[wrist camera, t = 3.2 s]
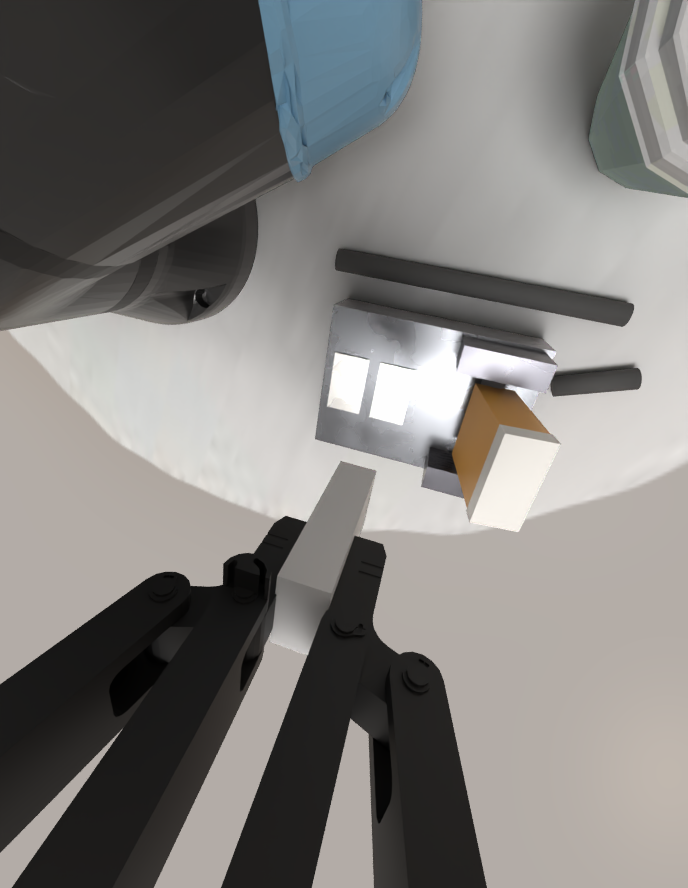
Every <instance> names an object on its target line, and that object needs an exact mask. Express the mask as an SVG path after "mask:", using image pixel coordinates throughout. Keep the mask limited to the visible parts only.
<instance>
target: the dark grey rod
mask: <svg viewBox="0 0 688 888" xmlns="http://www.w3.org/2000/svg"><path fill="white" fill-rule="evenodd" d="M335 269H336V270H337V271H342V272H348V273H353V274H358V275H363V276H368V277H373V278H378V279H383V280H388V281H393V282H398V283H403V284H408V285H413V286H419V287H424V288H429V289H434V290H439V291H444V292H449V293H454V294H459V295H464V296H469V297H474V298H479V299H484V300H490V301H495V302H500V303H505V304H510V305H515V306H520V307H525V308H530V309H535V310H540V311H545V312H550V313H555V314H561V315H566V316H571V317H576V318H581V319H586V320H591V321H596V322H601V323H606V324H611V325H616V326H621V327H623V326H625V325H626V324H627V323H628V321H629V320H630V318H631V316H632V314H633V310H634V305H633V304H632V303H626V302H621V301H616V300H610V299H605V298H600V297H594V296H589V295H584V294H579V293H573V292H568V291H563V290H557V289H552V288H547V287H541V286H536V285H531V284H525V283H520V282H515V281H510V280H504V279H499V278H494V277H488V276H483V275H478V274H472V273H467V272H462V271H456V270H451V269H446V268H441V267H435V266H430V265H425V264H419V263H414V262H409V261H403V260H398V259H393V258H387V257H382V256H377V255H372V254H366V253H361V252H356V251H350V250H345V249H339V250H338V252H337V255H336V260H335Z"/></svg>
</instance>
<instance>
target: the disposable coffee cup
mask: <svg viewBox="0 0 688 888" xmlns="http://www.w3.org/2000/svg"><path fill="white" fill-rule="evenodd" d="M588 139H589V142H590V145H591V148H592V151H593V154H594V157H595V160H596V163H597V166H598V169H599V171H600V172H601V173H603V174H604V175H606V176H608V177H609V178H611V179H612V180H614V181H615V182H617V183H619V184H620V185H622V186H623V187H625V188H629V189H635V190H641V191H648V192H654V193H660V194H667V195H673V196H679V197H685V198H688V0H635V3H634V8H633V12H632V14H631V17H630V19H629V21H628V24H627V26H626V29H625V31H624V33H623V36H622V38H621V40H620V43H619V45H618V48H617V50H616V52H615V55H614V57H613V60H612V62H611V64H610V67H609V69H608V72H607V74H606V76H605V79H604V81H603V84H602V86H601V88H600V91H599V93H598V96H597V99H596V104H595V109H594V114H593V119H592V123H591V128H590V133H589V138H588Z"/></svg>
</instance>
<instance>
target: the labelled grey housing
mask: <svg viewBox="0 0 688 888" xmlns="http://www.w3.org/2000/svg"><path fill="white" fill-rule="evenodd" d="M555 354H556V351H555V350H554V349H553V348H552V347H551V346H550V345H549V344H548V343H547V342H546V341H545V340H544V339H540V338H536V337H531V336H526V335H521V334H516V333H511V332H507V331H502V330H497V329H492V328H487V327H483V326H478V325H473V324H468V323H463V322H458V321H454V320H449V319H444V318H439V317H434V316H429V315H425V314H420V313H415V312H410V311H405V310H401V309H396V308H391V307H386V306H381V305H376V304H372V303H367V302H362V301H357V300H352V299H347V300H344V301H342V302H339V303H337V304H335V305H334V308H333V315H332V322H331V329H330V336H329V344H328V351H327V358H326V365H325V372H324V379H323V386H322V393H321V400H320V407H319V414H318V421H317V428H316V436H315V439H317V440H320V441H324V442H328V443H332V444H335V445H339V446H343V447H347V448H351V449H354V450H358V451H362V452H366V453H369V454H373V455H377V456H381V457H384V458H388V459H392V460H396V461H399V462H403V463H407V464H411V465H414V466H418V467H422V468H424V471H423V478H422V485H421V487H424V488H428V489H431V490H435V491H439V492H442V493H446V494H450V495H453V496H457V497H461V498H464V496H463V492H462V489H461V485H460V481H459V478H458V474H457V471H456V467H455V464H454V460H453V456H452V452H453V449H454V446H455V443H456V440H457V437H458V434H459V431H460V428H461V425H462V422H463V419H464V416H465V413H466V410H467V407H468V404H469V401H470V398H471V395H472V392H473V389H474V386H475V383H477V384H481V382H482V379H485V380H489V381H494V382H498V383H503V384H506V385H505V388H504V389H508V390H514V391H515V392H516V393H517V394H518V395H519V397H520V398H521V399H522V400H523V402H524V403H525V404H526V405H527V406H528V408H529V409H530V410H531V411H532V408H533V406H534V404H535V401H536V399H537V397H538V394H539V392H542V393H546V392H547V390H548V387H549V385H550V383H551V381H552V378H553V376H554V374H555V371H556V369H557V367H558V365H557V364H556V363H555V362H554V361H553V359H554V356H555Z"/></svg>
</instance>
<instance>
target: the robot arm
mask: <svg viewBox="0 0 688 888" xmlns="http://www.w3.org/2000/svg"><path fill="white" fill-rule="evenodd" d="M421 31H422V0H0V331H3V330H9V329H15V328H21V327H26V326H32V325H38V324H44V323H49V322H55V321H61V320H67V319H73V318H78V317H84V316H90V315H95V314H101V313H107V312H111V313H115V314H119V315H124V316H128V317H132V318H136V319H140V320H144V321H149V322H153V323H158V324H166V325H177V324H185V323H190V322H194V321H198V320H202V319H205V318H208V317H211V316H213V315H215V314H217V313H219V312H220V311H222V310H223V309H224V308H226V307H227V306H228V305H229V304H230V303H231V302H232V301H233V300H234V299H235V298H236V297H237V295H238V294H239V293H240V291H241V290H242V288H243V287H244V285H245V283H246V281H247V279H248V277H249V274H250V272H251V269H252V266H253V262H254V258H255V253H256V247H257V237H258V222H257V210H256V203H255V199H256V198H258V197H259V196H261V195H263V194H265V193H267V192H269V191H271V190H273V189H275V188H277V187H279V186H281V185H282V184H284V183H286V182H288V181H290V180H292V179H295V180H296V181H297V182H300V181H302V180H304V179H306V177H307V176H309V175H310V174H311V170H312V168H313V166H314V165H315V164H317V163H319V162H320V161H322V160H324V159H325V158H327V157H329V156H330V155H332V154H334V153H335V152H337V151H338V150H340V149H342V148H343V147H345V146H347V145H348V144H350V143H352V142H353V141H355V140H357V139H358V138H360V137H361V136H363V135H365V134H366V133H368V132H370V131H371V130H373V129H375V128H376V127H378V126H380V125H381V124H382V123H383V122H385V121H386V120H387V119H388V118H389V117H390V116H391V115H392V114H393V113H394V112H395V111H396V109H397V108H398V107H399V105H400V104H401V102H402V101H403V99H404V98H405V96H406V94H407V92H408V90H409V87H410V85H411V82H412V80H413V77H414V74H415V70H416V66H417V62H418V57H419V51H420V43H421ZM375 475H376V471H375V470H372V469H368V468H364V467H361V466H357V465H353V464H350V463H346V462H342V461H341V462H340V464H339V465H338V467H337V469H336V471H335V473H334V474H333V476H332V478H331V480H330V482H329V483H328V485H327V487H326V489H325V491H324V493H323V494H322V496H321V498H320V500H319V502H318V503H317V505H316V507H315V509H314V511H313V512H312V514H311V516H310V518H309V520H308V521H307V522H304V521H301V520H298V519H295V518H291V517H288V516H285V517H283V518H282V519H280V520H278V521H277V522H276V523H274V524H273V526H272V527H271V529H270V530H269V532H268V534H267V535H266V537H265V538H264V539H263V541H262V543H261V544H260V545H259V547H258V548H257V550H256V551H255V553H254V554H251V553H244V554H238V555H236V556H233V557H231V558H229V559H228V560H227V561H226V562H225V563H224V564H223V585H220V586H214V587H202V586H190V582H189V580H188V579H187V578H186V577H185V576H184V575H182V574H179V573H177V572H163V573H159V574H155V575H154V576H152V577H150V578H148V579H146V580H145V581H143V582H142V583H141V584H139V585H138V586H136V587H135V588H134V589H132V590H131V591H129V592H128V593H127V594H125V595H124V596H122V597H121V598H120V599H118V600H117V601H116V602H114V603H113V604H111V605H110V606H109V607H107V608H106V609H104V610H103V611H102V612H100V613H99V614H98V615H96V616H95V617H93V618H92V619H91V620H89V621H88V622H86V623H85V624H84V625H82V626H81V627H79V628H78V629H77V630H75V631H74V632H72V633H71V634H70V635H68V636H67V637H66V638H64V639H63V640H61V641H60V642H59V643H57V644H56V645H54V646H53V647H52V648H50V649H49V650H47V651H46V652H45V653H43V654H42V655H40V656H39V657H38V658H36V659H35V660H33V661H32V662H31V663H29V664H28V665H27V666H25V667H24V668H23V669H21V670H20V671H18V672H17V673H16V674H14V675H13V676H11V677H10V678H8V679H7V680H6V681H4V682H3V683H2V684H0V852H1V851H2V850H3V849H4V848H5V847H6V846H7V845H8V844H9V843H10V842H11V841H12V840H13V839H14V838H15V837H16V836H17V835H18V834H19V833H20V832H21V831H22V830H23V829H24V828H25V827H26V826H27V825H28V824H29V823H30V822H31V821H32V820H33V819H34V818H35V817H36V816H37V815H38V814H39V813H40V812H41V811H42V810H43V809H44V808H45V807H46V806H47V805H48V804H49V803H50V802H51V801H52V800H53V799H54V798H55V797H56V796H57V795H58V793H59V792H60V791H62V790H63V788H64V787H65V786H66V785H67V784H68V783H69V782H70V781H71V780H72V779H73V778H74V777H75V776H76V775H77V774H78V773H79V772H80V771H81V770H82V769H83V768H84V767H85V766H86V765H87V764H88V763H89V762H90V761H91V760H92V759H93V758H94V757H95V756H96V755H97V754H98V753H99V752H100V751H101V750H102V749H103V748H104V747H105V746H106V745H107V744H108V743H109V742H110V740H112V739H113V738H114V737H115V736H116V735H117V733H119V732H120V730H121V729H122V731H121V732H120V734H119V735H118V737H117V738H116V739H115V741H114V742H113V744H112V745H111V747H110V748H109V749H108V751H107V752H106V754H105V755H104V757H103V758H102V759H101V761H100V763H99V764H98V765H97V767H96V768H95V769H94V771H93V772H92V774H91V775H90V777H89V778H88V780H87V781H86V782H85V784H84V785H83V787H82V788H81V790H80V791H79V792H78V794H77V795H76V797H75V798H74V800H73V801H72V803H71V804H70V805H69V807H68V808H67V810H66V811H65V812H64V814H63V815H62V817H61V818H60V820H59V821H58V822H57V824H56V825H55V827H54V828H53V830H52V831H51V832H50V834H49V835H48V837H47V838H46V840H45V841H44V842H43V844H42V845H41V847H40V848H39V850H38V851H37V853H36V854H35V855H34V857H33V858H32V860H31V861H30V862H29V864H28V865H27V867H26V868H25V870H24V871H23V872H22V874H21V875H20V877H19V878H18V880H17V881H16V882H15V884H14V885H13V887H12V888H154V886H155V884H156V881H157V879H158V877H159V875H160V873H161V871H162V869H163V867H164V864H165V863H166V860H167V858H168V856H169V854H170V852H171V850H172V848H173V846H174V844H175V842H176V839H177V837H178V835H179V833H180V831H181V829H182V827H183V825H184V823H185V820H186V818H187V816H188V814H189V812H190V810H191V808H192V805H193V804H194V801H195V799H196V797H197V795H198V793H199V791H200V789H201V786H202V785H203V783H204V780H205V778H206V776H207V774H208V772H209V770H210V768H211V766H212V764H213V761H214V759H215V757H216V755H217V753H218V751H219V749H220V747H221V745H222V742H223V740H224V738H225V736H226V734H227V732H228V730H229V728H230V726H231V724H232V721H233V719H234V717H235V715H236V713H237V711H238V709H239V707H240V704H241V702H242V700H243V698H244V696H245V694H246V692H247V690H248V688H249V686H250V684H251V681H252V679H253V677H254V675H255V673H256V671H257V669H258V667H259V665H260V662H261V660H262V656H263V652H264V645H265V643H266V641H267V639H268V637H269V635H270V633H271V635H270V642H271V643H274V644H276V645H279V646H282V647H285V648H288V649H291V650H294V651H296V652H299V653H302V654H305V655H307V658H306V661H305V663H304V666H303V669H302V672H301V674H300V677H299V680H298V682H297V685H296V688H295V690H294V693H293V696H292V699H291V701H290V704H289V707H288V709H287V712H286V715H285V717H284V720H283V723H282V725H281V728H280V731H279V733H278V736H277V739H276V741H275V744H274V747H273V750H272V752H271V755H270V758H269V761H268V763H267V766H266V768H265V771H264V774H263V776H262V779H261V782H260V785H259V787H258V790H257V793H256V795H255V798H254V801H253V803H252V806H251V809H250V812H249V814H248V817H247V819H246V822H245V825H244V828H243V830H242V833H241V836H240V838H239V841H238V844H237V846H236V849H235V852H234V855H233V857H232V860H231V863H230V865H229V868H228V870H227V873H226V876H225V879H224V881H223V884H222V887H221V888H312V884H313V879H314V875H315V870H316V866H317V862H318V857H319V853H320V848H321V844H322V840H323V835H324V831H325V826H326V822H327V818H328V813H329V809H330V805H331V800H332V795H333V792H334V787H335V783H336V779H337V774H338V770H339V765H340V761H341V757H342V752H343V748H344V743H345V739H346V735H347V730H348V726H349V722H350V718H351V719H352V720H353V721H354V722H355V723H357V724H358V725H359V726H360V727H362V728H363V729H364V730H365V731H366V732H367V733H368V734H369V757H370V786H371V814H372V841H373V869H374V888H487V886H486V881H485V876H484V872H483V867H482V862H481V857H480V853H479V848H478V843H477V838H476V833H475V829H474V824H473V819H472V814H471V809H470V805H469V800H468V795H467V790H466V786H465V781H464V776H463V771H462V766H461V761H460V757H459V752H458V747H457V742H456V737H455V733H454V728H453V723H452V718H451V713H450V709H449V704H448V699H447V694H446V690H445V685H444V681H443V678H442V675H441V673H440V670H439V669H438V668H437V667H436V666H435V664H434V663H433V662H432V661H431V660H430V659H428V658H427V657H425V656H424V655H422V654H418V653H415V652H405V653H402V654H400V655H399V654H398V653H396V652H395V651H393V650H392V649H390V648H389V647H388V646H387V645H386V644H384V643H383V642H382V641H381V640H380V638H379V637H378V636H377V634H376V632H375V630H374V627H373V613H374V608H375V604H376V600H377V595H378V591H379V587H380V582H381V577H382V573H383V568H384V565H385V559H386V553H385V550H384V546H383V544H380V543H377V542H374V541H371V540H367V539H364V538H361V537H360V534H361V531H362V528H363V525H364V521H365V517H366V513H367V508H368V504H369V500H370V496H371V491H372V487H373V483H374V479H375Z"/></svg>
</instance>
